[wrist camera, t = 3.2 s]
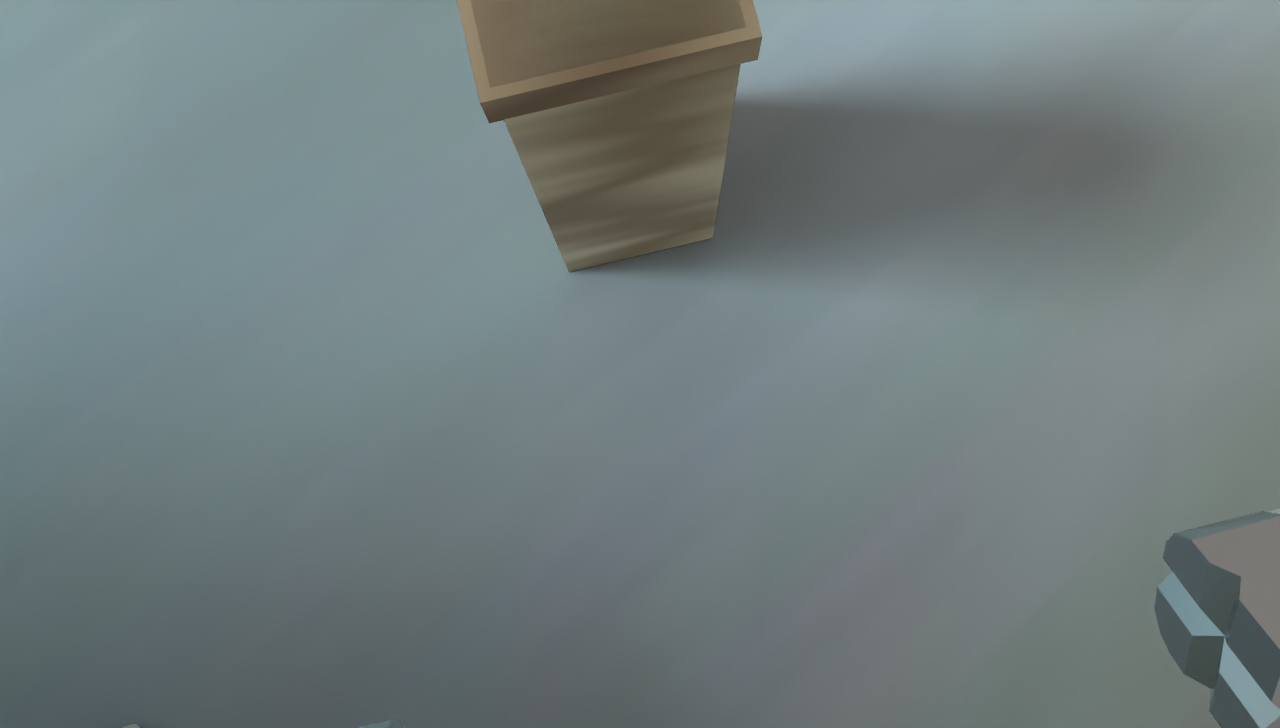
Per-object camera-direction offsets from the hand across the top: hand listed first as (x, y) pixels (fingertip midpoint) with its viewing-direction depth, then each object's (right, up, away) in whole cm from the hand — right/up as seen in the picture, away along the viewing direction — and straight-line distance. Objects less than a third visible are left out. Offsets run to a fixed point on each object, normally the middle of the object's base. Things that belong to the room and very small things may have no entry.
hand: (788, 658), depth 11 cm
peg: (-2, +8, +17) cm, 19 cm away
